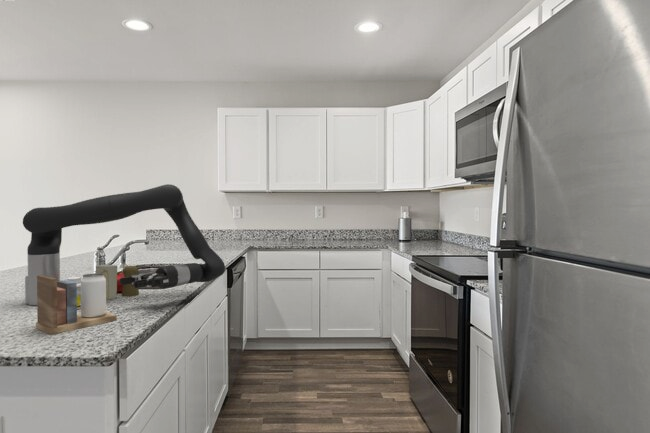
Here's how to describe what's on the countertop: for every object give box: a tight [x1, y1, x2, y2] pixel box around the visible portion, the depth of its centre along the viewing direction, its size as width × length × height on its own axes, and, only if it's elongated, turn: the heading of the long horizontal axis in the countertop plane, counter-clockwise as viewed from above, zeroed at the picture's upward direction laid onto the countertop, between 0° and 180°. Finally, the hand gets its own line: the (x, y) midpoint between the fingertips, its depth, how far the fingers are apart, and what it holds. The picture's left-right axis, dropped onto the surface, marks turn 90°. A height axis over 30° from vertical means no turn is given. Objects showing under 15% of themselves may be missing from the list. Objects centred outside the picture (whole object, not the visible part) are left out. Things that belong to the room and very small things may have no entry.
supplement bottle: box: [66, 276, 82, 310], centre depth 134 cm, size 6×6×10 cm
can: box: [80, 272, 107, 318], centre depth 120 cm, size 6×6×12 cm
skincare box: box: [95, 264, 118, 301], centre depth 148 cm, size 6×4×12 cm
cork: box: [121, 265, 140, 297], centre depth 155 cm, size 6×6×11 cm
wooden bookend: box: [35, 275, 117, 336], centre depth 116 cm, size 17×10×14 cm, turn 144°
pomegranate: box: [117, 271, 124, 294], centre depth 160 cm, size 10×10×9 cm
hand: (126, 283), depth 127 cm, fingers open, 8 cm apart
